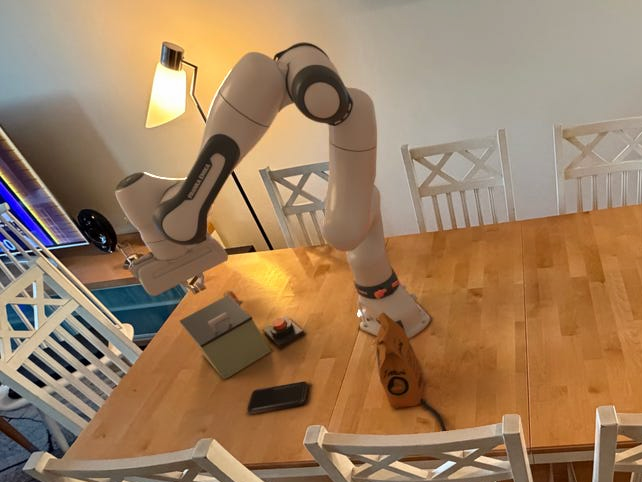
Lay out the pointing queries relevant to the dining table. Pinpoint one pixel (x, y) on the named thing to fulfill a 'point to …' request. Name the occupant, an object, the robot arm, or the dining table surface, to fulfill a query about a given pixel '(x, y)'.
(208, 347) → the green box
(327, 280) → the dining table surface
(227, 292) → the lion figurine
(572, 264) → the dining table surface
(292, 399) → the phone
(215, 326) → the lid
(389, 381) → the coffee package
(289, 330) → the block
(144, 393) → the dining table surface
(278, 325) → the button
